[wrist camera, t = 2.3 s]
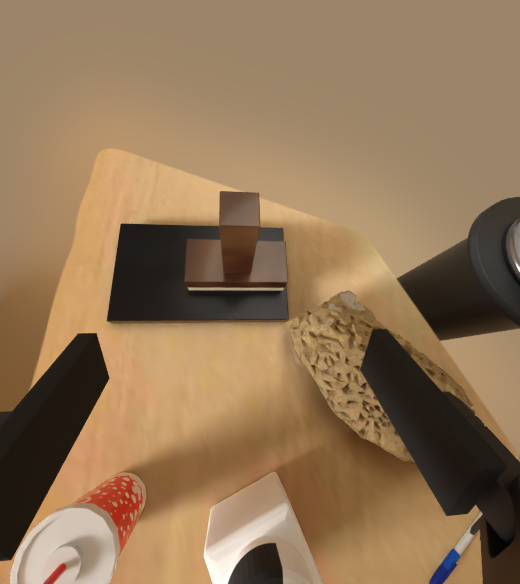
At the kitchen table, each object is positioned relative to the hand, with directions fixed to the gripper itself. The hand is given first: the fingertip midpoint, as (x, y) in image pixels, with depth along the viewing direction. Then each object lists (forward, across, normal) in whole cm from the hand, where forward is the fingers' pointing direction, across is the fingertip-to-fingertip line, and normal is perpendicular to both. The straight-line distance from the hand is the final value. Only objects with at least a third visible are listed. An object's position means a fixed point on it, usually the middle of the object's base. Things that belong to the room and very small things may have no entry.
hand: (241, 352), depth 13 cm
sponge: (+11, +15, -14) cm, 24 cm away
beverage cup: (+4, -11, -21) cm, 24 cm away
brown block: (+19, 0, -4) cm, 19 cm away
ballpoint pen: (0, +23, -26) cm, 34 cm away
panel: (+20, -4, -5) cm, 21 cm away
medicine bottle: (+2, +2, -23) cm, 24 cm away
